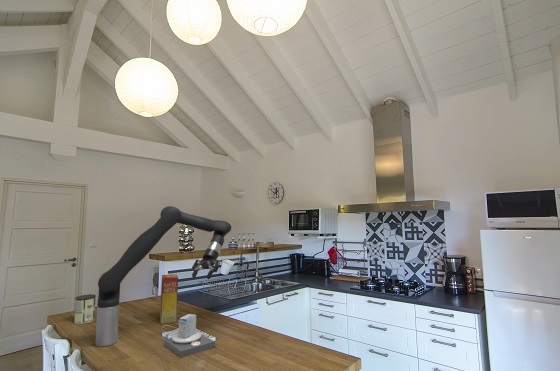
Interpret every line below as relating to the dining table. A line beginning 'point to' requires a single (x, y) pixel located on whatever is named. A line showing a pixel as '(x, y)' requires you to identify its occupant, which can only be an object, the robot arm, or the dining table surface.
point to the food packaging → (169, 298)
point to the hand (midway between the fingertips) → (200, 277)
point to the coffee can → (84, 309)
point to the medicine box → (187, 326)
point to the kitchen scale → (188, 344)
